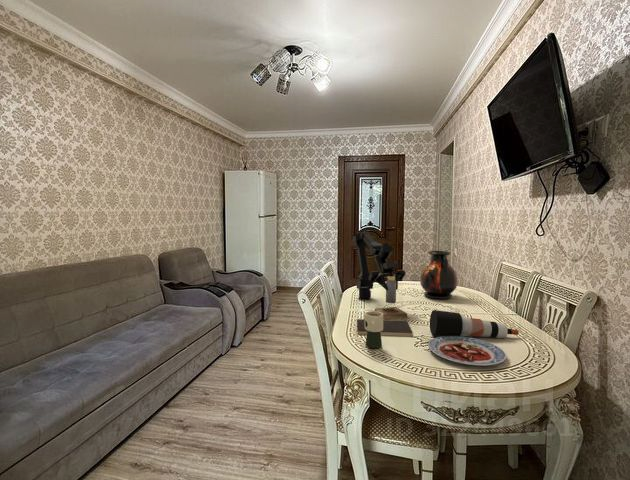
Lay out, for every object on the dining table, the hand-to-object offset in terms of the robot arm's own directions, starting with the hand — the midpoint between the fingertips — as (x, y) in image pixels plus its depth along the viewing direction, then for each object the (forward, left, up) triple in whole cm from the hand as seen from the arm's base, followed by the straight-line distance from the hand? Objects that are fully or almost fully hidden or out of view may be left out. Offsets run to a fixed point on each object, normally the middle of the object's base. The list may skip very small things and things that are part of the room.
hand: (392, 289), depth 167 cm
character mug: (-5, -42, -13) cm, 44 cm away
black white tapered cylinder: (+34, -21, -14) cm, 42 cm away
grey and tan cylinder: (-1, +1, -7) cm, 7 cm away
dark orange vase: (+25, +45, -13) cm, 53 cm away
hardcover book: (-3, -21, -14) cm, 25 cm away
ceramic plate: (+28, -40, -14) cm, 51 cm away
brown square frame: (-1, +1, -13) cm, 13 cm away
